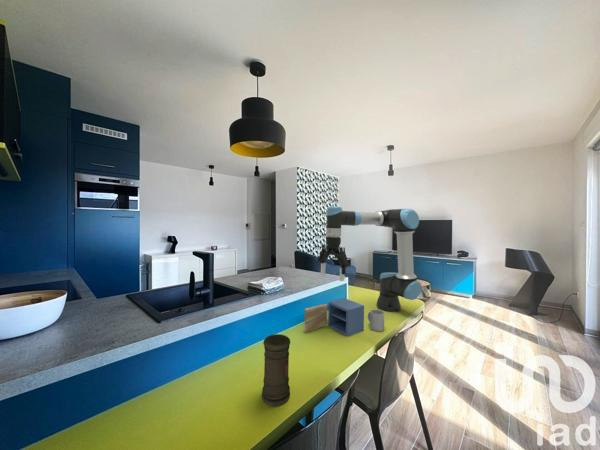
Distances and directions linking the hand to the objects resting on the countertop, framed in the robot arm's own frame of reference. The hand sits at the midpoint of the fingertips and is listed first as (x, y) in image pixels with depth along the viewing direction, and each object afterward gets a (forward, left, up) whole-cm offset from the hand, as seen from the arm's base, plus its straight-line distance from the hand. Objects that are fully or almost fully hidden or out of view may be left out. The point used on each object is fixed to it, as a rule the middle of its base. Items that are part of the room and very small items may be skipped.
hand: (331, 278), depth 124 cm
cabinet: (-8, +3, -27) cm, 28 cm away
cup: (-22, +11, -27) cm, 37 cm away
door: (+6, -5, -26) cm, 27 cm away
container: (+47, +25, -27) cm, 59 cm away
